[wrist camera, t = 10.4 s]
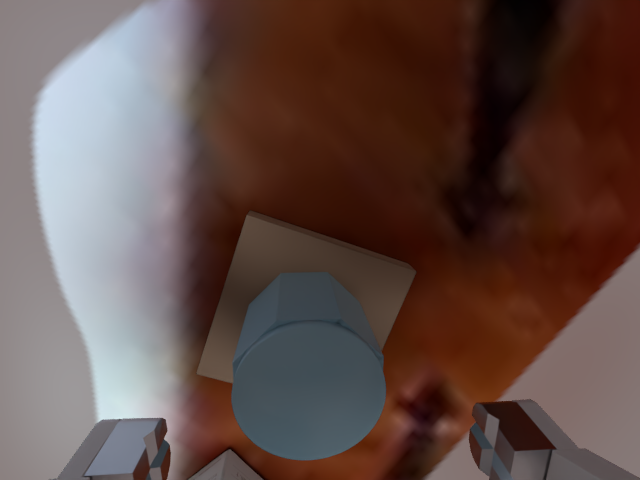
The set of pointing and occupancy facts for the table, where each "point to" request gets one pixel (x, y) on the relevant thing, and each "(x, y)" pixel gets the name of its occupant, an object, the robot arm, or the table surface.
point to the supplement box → (226, 469)
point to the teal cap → (307, 369)
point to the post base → (296, 257)
